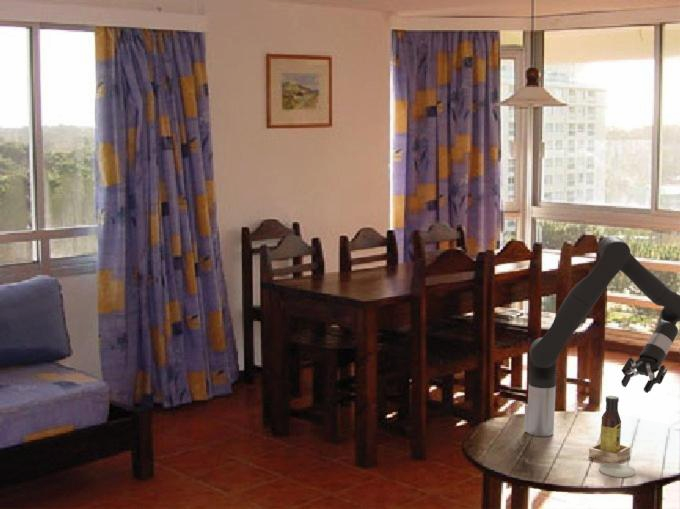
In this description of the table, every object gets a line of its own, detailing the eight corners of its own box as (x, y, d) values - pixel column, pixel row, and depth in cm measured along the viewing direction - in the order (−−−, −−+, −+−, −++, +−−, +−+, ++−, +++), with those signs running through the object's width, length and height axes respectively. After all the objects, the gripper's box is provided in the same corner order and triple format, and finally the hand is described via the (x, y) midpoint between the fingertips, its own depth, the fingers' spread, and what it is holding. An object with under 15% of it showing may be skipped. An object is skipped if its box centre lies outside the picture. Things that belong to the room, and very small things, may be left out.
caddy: (588, 457, 343) (589, 448, 343) (603, 449, 351) (603, 440, 351) (615, 463, 337) (616, 454, 337) (629, 455, 345) (630, 446, 345)
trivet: (593, 471, 330) (593, 469, 330) (608, 462, 339) (608, 460, 339) (625, 480, 323) (626, 478, 323) (641, 470, 332) (641, 468, 332)
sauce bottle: (619, 460, 341) (623, 400, 338) (599, 458, 342) (603, 399, 339) (618, 453, 347) (622, 395, 344) (599, 452, 348) (602, 393, 345)
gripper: (633, 339, 357) (611, 377, 352) (670, 347, 347) (648, 386, 341) (642, 352, 362) (620, 390, 356) (679, 360, 351) (657, 399, 345)
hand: (634, 388), depth 349 cm, fingers open, 8 cm apart
